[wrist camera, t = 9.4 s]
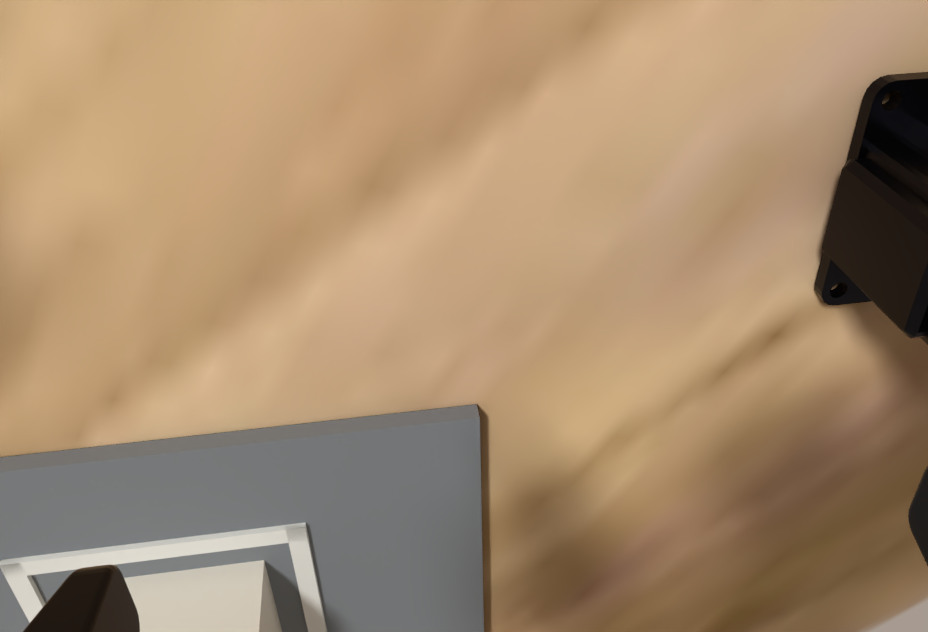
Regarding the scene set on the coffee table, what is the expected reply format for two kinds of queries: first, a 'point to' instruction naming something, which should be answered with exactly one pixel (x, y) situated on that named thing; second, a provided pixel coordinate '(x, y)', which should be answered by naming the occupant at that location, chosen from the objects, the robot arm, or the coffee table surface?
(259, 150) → the coffee table surface
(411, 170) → the coffee table surface
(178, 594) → the base block
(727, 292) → the coffee table surface
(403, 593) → the grey flat rectangular panel
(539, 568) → the coffee table surface
